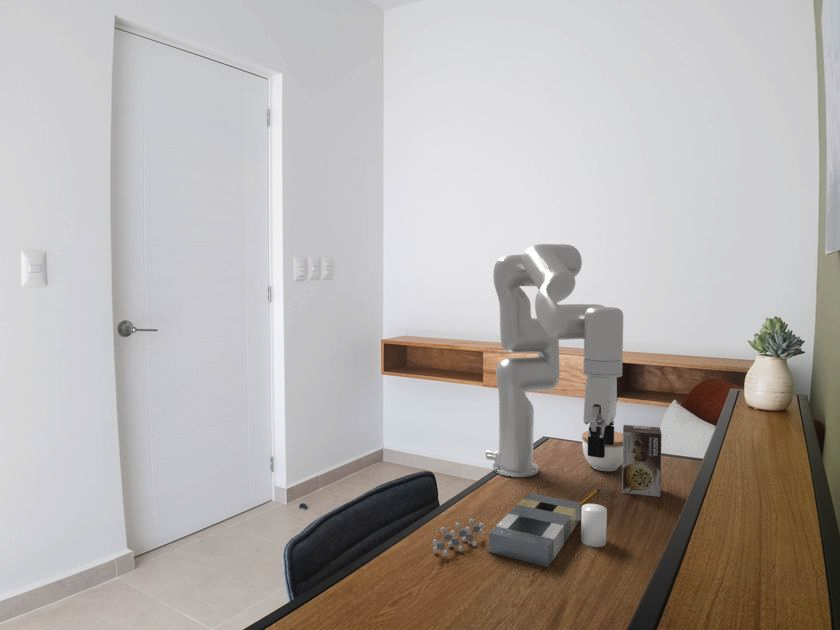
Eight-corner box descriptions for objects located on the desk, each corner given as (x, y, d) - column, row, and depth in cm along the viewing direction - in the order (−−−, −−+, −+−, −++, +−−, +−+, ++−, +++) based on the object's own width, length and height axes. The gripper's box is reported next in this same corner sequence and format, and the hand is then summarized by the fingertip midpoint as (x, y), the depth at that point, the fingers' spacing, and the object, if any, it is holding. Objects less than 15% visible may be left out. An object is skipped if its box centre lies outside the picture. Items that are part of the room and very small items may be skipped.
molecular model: (440, 563, 112) (440, 538, 112) (426, 555, 115) (426, 530, 115) (489, 542, 121) (489, 518, 121) (475, 535, 124) (475, 512, 124)
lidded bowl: (584, 473, 161) (585, 434, 160) (578, 459, 174) (579, 422, 173) (632, 475, 159) (633, 436, 159) (622, 460, 172) (623, 424, 171)
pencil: (598, 490, 150) (597, 487, 150) (601, 489, 150) (600, 486, 150) (568, 515, 135) (567, 511, 135) (571, 514, 135) (569, 510, 135)
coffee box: (659, 488, 150) (661, 427, 149) (660, 497, 144) (662, 433, 143) (621, 484, 153) (623, 423, 152) (621, 493, 147) (623, 430, 146)
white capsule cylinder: (578, 543, 120) (578, 510, 120) (584, 533, 124) (584, 502, 124) (603, 549, 118) (604, 515, 117) (608, 539, 122) (609, 506, 121)
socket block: (489, 552, 116) (489, 532, 116) (528, 509, 137) (528, 492, 137) (548, 567, 110) (548, 546, 110) (580, 519, 131) (580, 502, 131)
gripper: (593, 360, 128) (591, 437, 130) (573, 372, 113) (572, 459, 114) (629, 363, 125) (627, 442, 126) (614, 375, 110) (612, 465, 111)
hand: (601, 450), depth 120 cm, fingers open, 9 cm apart
